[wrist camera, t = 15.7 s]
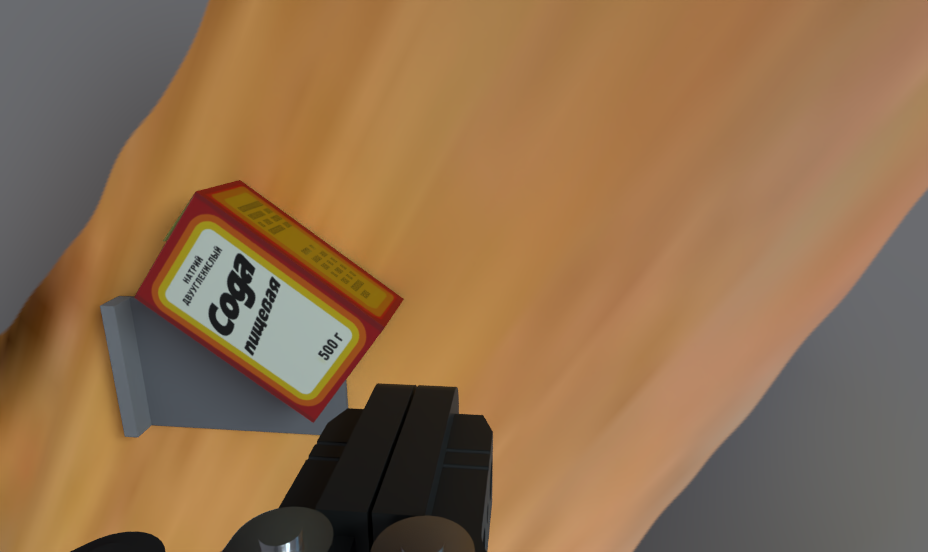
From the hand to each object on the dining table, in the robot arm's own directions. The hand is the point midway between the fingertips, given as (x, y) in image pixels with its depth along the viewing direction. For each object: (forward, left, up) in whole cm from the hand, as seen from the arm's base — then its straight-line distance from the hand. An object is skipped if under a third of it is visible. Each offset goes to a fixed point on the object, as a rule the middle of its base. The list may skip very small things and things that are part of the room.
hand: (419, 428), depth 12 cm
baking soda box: (+14, -10, -32) cm, 37 cm away
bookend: (+17, -22, -36) cm, 46 cm away
